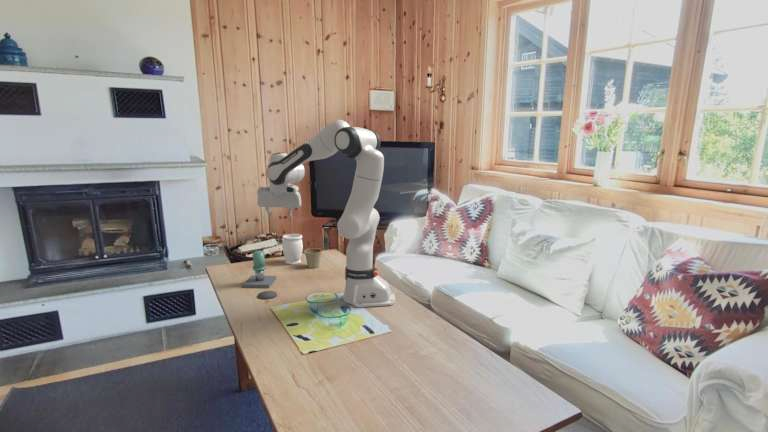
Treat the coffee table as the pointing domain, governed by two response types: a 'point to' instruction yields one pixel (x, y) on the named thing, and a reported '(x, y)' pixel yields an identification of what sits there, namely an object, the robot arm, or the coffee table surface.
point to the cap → (258, 261)
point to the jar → (292, 248)
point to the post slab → (259, 282)
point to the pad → (267, 295)
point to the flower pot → (313, 257)
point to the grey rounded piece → (259, 275)
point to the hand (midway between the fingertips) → (279, 216)
